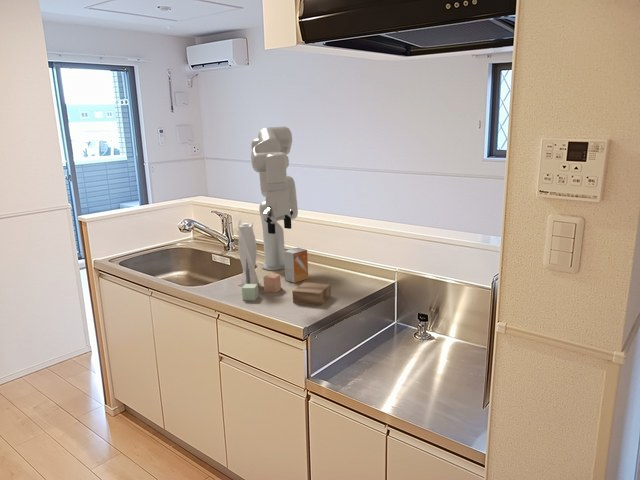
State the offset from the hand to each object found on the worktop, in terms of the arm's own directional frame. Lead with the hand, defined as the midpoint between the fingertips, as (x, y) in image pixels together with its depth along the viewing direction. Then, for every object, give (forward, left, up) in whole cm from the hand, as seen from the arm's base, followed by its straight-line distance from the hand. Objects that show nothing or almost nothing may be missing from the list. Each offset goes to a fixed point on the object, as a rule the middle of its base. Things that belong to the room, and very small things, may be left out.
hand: (280, 230), depth 196 cm
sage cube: (+9, -10, -25) cm, 29 cm away
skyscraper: (-6, -19, -26) cm, 32 cm away
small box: (-17, -2, -25) cm, 31 cm away
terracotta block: (-2, -6, -25) cm, 26 cm away
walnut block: (+4, +14, -26) cm, 29 cm away
